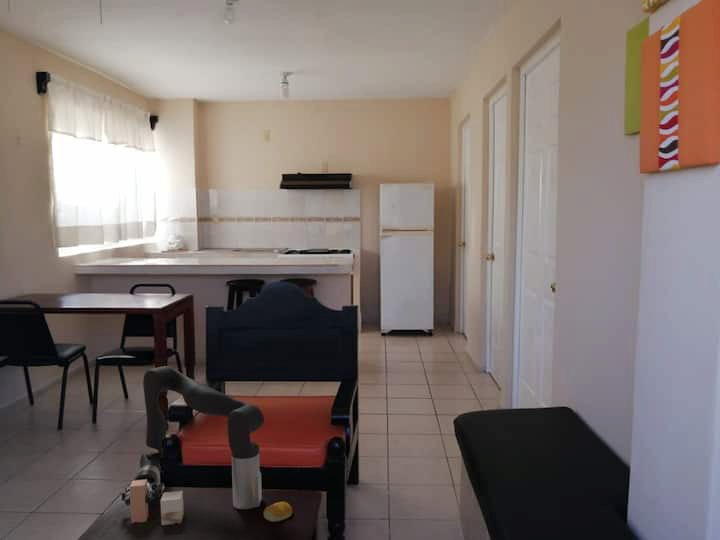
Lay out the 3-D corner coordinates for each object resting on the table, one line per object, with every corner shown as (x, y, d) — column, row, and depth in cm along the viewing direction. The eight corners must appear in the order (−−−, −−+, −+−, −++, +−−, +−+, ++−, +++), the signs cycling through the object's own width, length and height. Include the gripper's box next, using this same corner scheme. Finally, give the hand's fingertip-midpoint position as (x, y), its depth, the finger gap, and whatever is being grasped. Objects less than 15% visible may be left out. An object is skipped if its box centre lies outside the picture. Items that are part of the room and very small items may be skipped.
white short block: (183, 502, 185) (182, 490, 185) (180, 511, 180) (180, 499, 179) (164, 504, 184) (163, 492, 184) (160, 513, 178) (160, 500, 178)
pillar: (148, 515, 186) (147, 479, 185) (145, 521, 181) (144, 485, 180) (133, 516, 185) (132, 480, 184) (131, 523, 180) (129, 486, 180)
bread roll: (296, 514, 184) (296, 502, 184) (275, 525, 178) (274, 512, 178) (280, 506, 190) (280, 495, 190) (259, 516, 184) (258, 504, 183)
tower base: (183, 514, 186) (183, 502, 185) (181, 523, 180) (180, 511, 180) (164, 516, 185) (164, 504, 184) (161, 525, 179) (161, 513, 179)
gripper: (124, 471, 195) (113, 492, 178) (168, 467, 198) (160, 487, 181) (125, 492, 195) (113, 515, 179) (168, 488, 198) (161, 510, 182)
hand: (137, 501), depth 180 cm, fingers open, 5 cm apart
